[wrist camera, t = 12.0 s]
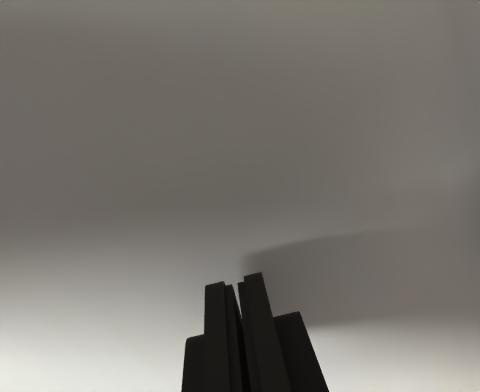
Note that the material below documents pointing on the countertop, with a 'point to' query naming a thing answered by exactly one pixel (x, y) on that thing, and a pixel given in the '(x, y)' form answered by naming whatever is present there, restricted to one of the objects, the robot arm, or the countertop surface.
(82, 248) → the countertop surface
